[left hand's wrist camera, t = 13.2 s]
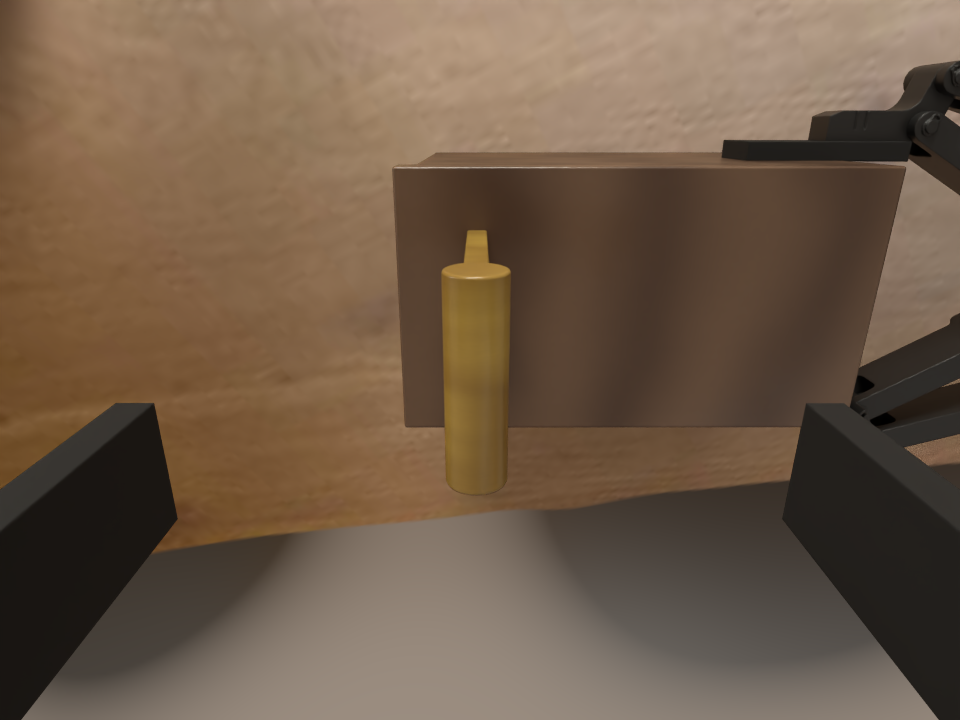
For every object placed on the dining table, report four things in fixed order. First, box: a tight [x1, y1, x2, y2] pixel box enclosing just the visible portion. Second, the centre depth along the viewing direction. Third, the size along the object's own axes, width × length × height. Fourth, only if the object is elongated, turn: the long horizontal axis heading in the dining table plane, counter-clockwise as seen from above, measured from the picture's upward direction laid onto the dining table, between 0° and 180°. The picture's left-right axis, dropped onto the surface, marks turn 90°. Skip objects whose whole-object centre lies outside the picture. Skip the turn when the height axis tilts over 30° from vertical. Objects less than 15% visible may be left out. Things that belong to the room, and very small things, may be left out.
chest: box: [417, 153, 880, 165], centre depth 29 cm, size 17×10×11 cm, turn 90°
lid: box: [392, 165, 906, 496], centre depth 20 cm, size 18×10×9 cm, turn 90°
